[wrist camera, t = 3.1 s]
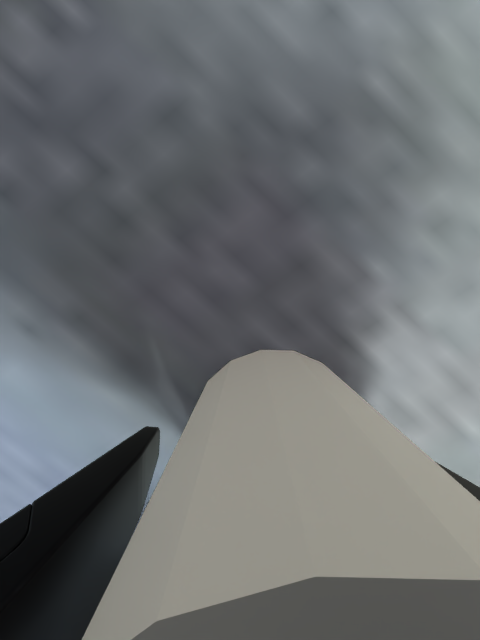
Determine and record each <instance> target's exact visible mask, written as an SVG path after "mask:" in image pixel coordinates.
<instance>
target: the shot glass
mask: <svg viewBox="0 0 480 640" xmlns="http://www.w3.org/2000/svg"><path fill="white" fill-rule="evenodd" d="M82 640H480V501H479V500H478V499H477V498H476V497H474V496H473V495H472V494H471V493H470V492H469V491H468V490H466V489H465V488H464V487H463V486H462V485H461V484H460V483H458V482H457V481H456V480H455V479H454V478H453V477H452V476H450V475H449V474H448V473H447V472H446V471H445V470H444V469H443V468H441V467H440V466H439V465H438V464H437V463H436V462H435V461H433V460H432V459H431V458H430V457H429V456H428V455H427V454H425V453H424V452H423V451H422V450H421V449H420V448H419V447H417V446H416V445H415V444H414V443H413V442H412V441H411V440H410V439H408V438H407V437H406V436H405V435H404V434H403V433H402V432H400V431H399V430H398V429H397V428H396V427H395V426H394V425H392V424H391V423H390V422H389V421H388V420H387V419H386V418H384V417H383V416H382V415H381V414H380V413H379V412H378V411H377V410H375V409H374V408H373V407H372V406H371V405H370V404H369V403H367V402H366V401H365V400H364V399H363V398H362V397H361V396H359V395H358V394H357V393H356V392H355V391H354V390H353V389H351V388H350V387H349V386H348V385H347V384H346V383H345V382H344V381H342V380H341V379H340V378H339V377H338V376H337V375H336V374H334V373H333V372H332V371H331V370H330V369H329V368H328V367H326V366H325V365H324V364H323V363H321V362H319V361H317V360H314V359H312V358H310V357H307V356H305V355H303V354H300V353H298V352H296V351H293V350H259V351H256V352H253V353H250V354H248V355H245V356H242V357H239V358H237V359H234V360H231V361H230V362H228V363H227V364H226V365H225V366H224V367H223V368H222V369H221V370H220V371H218V372H217V373H216V374H215V375H214V376H213V377H212V378H211V379H210V380H208V382H207V384H206V386H205V388H204V390H203V392H202V394H201V396H200V398H199V400H198V402H197V404H196V406H195V408H194V410H193V412H192V414H191V416H190V418H189V421H188V423H187V425H186V427H185V429H184V431H183V433H182V435H181V437H180V439H179V441H178V443H177V445H176V447H175V449H174V451H173V453H172V455H171V457H170V460H169V462H168V464H167V466H166V468H165V470H164V472H163V474H162V476H161V478H160V480H159V482H158V484H157V486H156V488H155V490H154V492H153V494H152V496H151V498H150V501H149V503H148V505H147V507H146V509H145V511H144V513H143V515H142V517H141V519H140V521H139V523H138V525H137V527H136V529H135V531H134V533H133V535H132V537H131V540H130V542H129V544H128V546H127V548H126V550H125V552H124V554H123V556H122V558H121V560H120V562H119V564H118V566H117V568H116V570H115V572H114V574H113V576H112V578H111V581H110V583H109V585H108V587H107V589H106V591H105V593H104V595H103V597H102V599H101V601H100V603H99V605H98V607H97V609H96V611H95V613H94V615H93V617H92V620H91V622H90V624H89V626H88V628H87V630H86V632H85V634H84V636H83V638H82Z"/></svg>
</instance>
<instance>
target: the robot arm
mask: <svg viewBox="0 0 480 640" xmlns="http://www.w3.org/2000/svg"><path fill="white" fill-rule="evenodd" d="M159 445H160V430H159V428H158V427H149V426H147V427H144V428H143V429H141V430H140V431H138V432H137V433H135V434H134V435H132V436H131V437H129V438H128V439H126V440H125V441H123V442H122V443H120V444H119V445H117V446H116V447H114V448H113V449H111V450H110V451H108V452H107V453H105V454H104V455H102V456H101V457H99V458H98V459H96V460H95V461H93V462H92V463H90V464H89V465H87V466H86V467H84V468H83V469H81V470H80V471H78V472H77V473H75V474H74V475H72V476H71V477H69V478H68V479H66V480H65V481H63V482H62V483H60V484H59V485H57V486H56V487H54V488H53V489H51V490H50V491H48V492H47V493H46V494H44V495H43V496H41V497H40V498H38V499H37V500H35V501H34V502H33V503H32V505H31V504H29V505H27V506H26V507H24V508H23V509H21V510H20V511H18V512H17V513H15V514H14V515H12V516H11V517H9V518H8V519H6V520H5V521H3V522H2V523H0V640H82V638H83V636H84V634H85V632H86V630H87V628H88V626H89V624H90V622H91V620H92V617H93V615H94V613H95V611H96V609H97V607H98V605H99V603H100V601H101V599H102V597H103V595H104V593H105V591H106V589H107V587H108V585H109V583H110V581H111V578H112V576H113V574H114V572H115V570H116V568H117V566H118V564H119V562H120V560H121V558H122V556H123V554H124V552H125V550H126V548H127V546H128V544H129V542H130V539H131V537H132V534H133V532H134V530H135V527H136V525H137V522H138V520H139V517H140V515H141V512H142V509H143V506H144V503H145V500H146V497H147V493H148V490H149V487H150V483H151V480H152V477H153V473H154V470H155V467H156V463H157V460H158V456H159ZM436 463H437V462H436ZM437 464H438V463H437ZM438 465H439V466H440V467H441V468H443V469H444V470H445V471H446V472H447V473H448V474H449V475H450V476H452V477H453V478H454V479H455V480H456V481H457V482H458V483H460V484H461V485H462V486H463V487H464V488H465V489H466V490H468V491H469V492H470V493H471V494H472V495H473V496H474V497H476V498H477V499H478V500H479V501H480V487H478V486H476V485H474V484H473V483H471V482H469V481H468V480H466V479H464V478H462V477H461V476H459V475H457V474H456V473H454V472H452V471H450V470H449V469H447V468H445V467H444V466H442V465H440V464H438Z"/></svg>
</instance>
